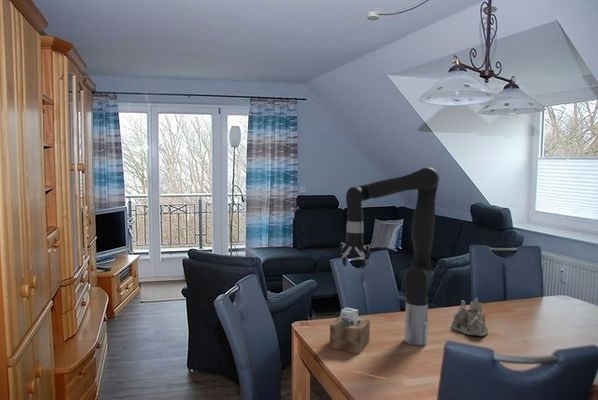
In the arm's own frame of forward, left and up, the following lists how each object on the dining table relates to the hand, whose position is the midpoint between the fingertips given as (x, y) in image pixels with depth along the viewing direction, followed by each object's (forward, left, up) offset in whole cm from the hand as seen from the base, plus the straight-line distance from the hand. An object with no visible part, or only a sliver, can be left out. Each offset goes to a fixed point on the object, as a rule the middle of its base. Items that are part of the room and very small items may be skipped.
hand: (354, 266), depth 203 cm
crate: (-4, +15, -30) cm, 34 cm away
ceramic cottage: (-48, -27, -30) cm, 62 cm away
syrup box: (-4, +15, -30) cm, 33 cm away
